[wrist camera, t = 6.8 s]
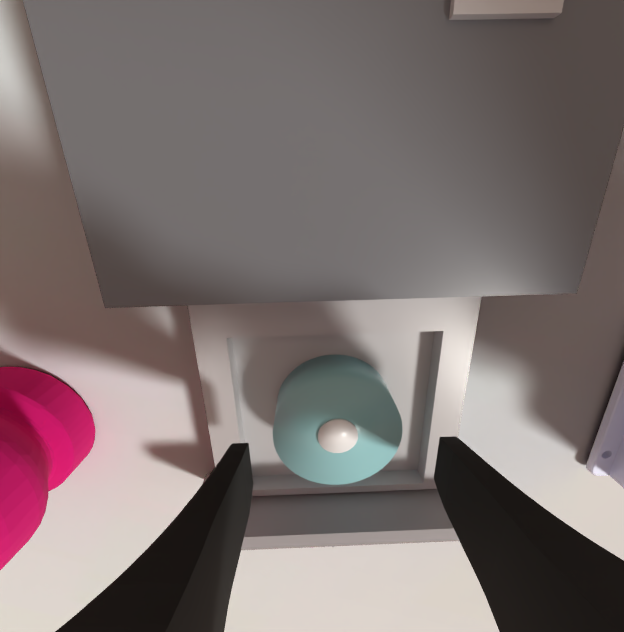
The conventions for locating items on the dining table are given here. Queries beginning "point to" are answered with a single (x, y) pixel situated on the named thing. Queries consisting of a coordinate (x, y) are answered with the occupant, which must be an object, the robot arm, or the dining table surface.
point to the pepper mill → (36, 449)
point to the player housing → (334, 144)
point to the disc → (336, 421)
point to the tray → (402, 382)
